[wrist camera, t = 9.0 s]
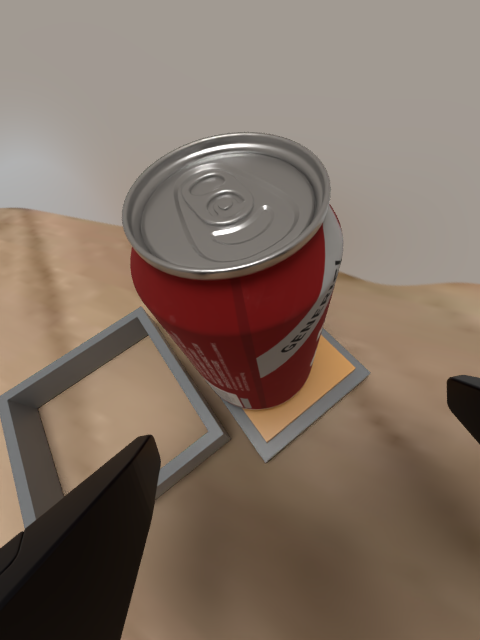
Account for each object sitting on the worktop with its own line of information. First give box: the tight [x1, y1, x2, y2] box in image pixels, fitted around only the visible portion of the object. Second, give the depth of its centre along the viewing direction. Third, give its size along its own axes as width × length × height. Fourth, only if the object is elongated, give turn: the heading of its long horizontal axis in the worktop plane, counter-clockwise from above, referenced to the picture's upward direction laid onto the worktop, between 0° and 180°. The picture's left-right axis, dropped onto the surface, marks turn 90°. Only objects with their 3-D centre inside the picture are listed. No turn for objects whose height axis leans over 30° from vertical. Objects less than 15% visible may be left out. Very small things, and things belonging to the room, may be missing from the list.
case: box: [0, 307, 231, 528], centre depth 17 cm, size 11×11×2 cm
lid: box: [220, 328, 370, 463], centre depth 18 cm, size 9×8×2 cm
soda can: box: [122, 132, 343, 410], centre depth 12 cm, size 7×7×12 cm
